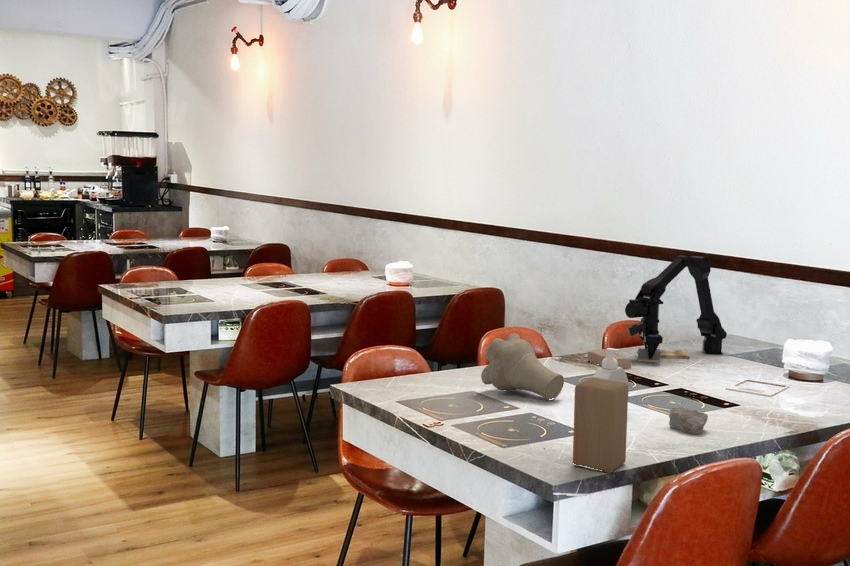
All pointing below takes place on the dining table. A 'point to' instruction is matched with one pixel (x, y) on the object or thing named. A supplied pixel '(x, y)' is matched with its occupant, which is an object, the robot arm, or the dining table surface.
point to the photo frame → (755, 391)
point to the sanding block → (644, 356)
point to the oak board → (673, 354)
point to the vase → (519, 368)
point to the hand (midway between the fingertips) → (648, 357)
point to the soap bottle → (611, 369)
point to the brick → (600, 354)
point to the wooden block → (600, 424)
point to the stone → (687, 420)
